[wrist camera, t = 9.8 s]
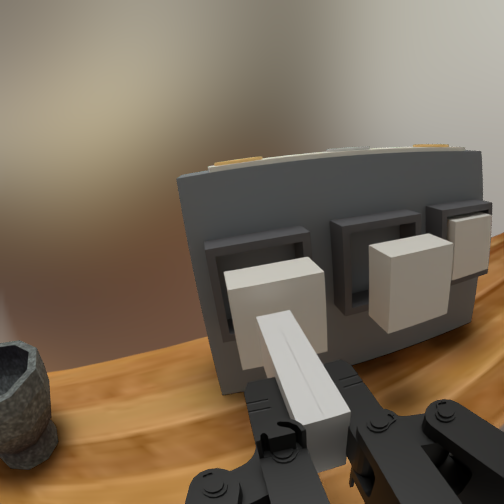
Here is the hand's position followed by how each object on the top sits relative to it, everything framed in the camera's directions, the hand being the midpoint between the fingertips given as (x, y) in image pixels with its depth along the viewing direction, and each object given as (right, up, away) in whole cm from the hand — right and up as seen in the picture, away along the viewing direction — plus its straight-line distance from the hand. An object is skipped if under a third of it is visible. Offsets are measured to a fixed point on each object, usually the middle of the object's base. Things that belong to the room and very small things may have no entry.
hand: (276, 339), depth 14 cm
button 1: (0, -1, +3) cm, 3 cm away
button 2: (+16, +2, +8) cm, 17 cm away
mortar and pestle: (-19, -11, +3) cm, 23 cm away
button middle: (+8, 0, +3) cm, 9 cm away
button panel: (+8, -4, +13) cm, 15 cm away
